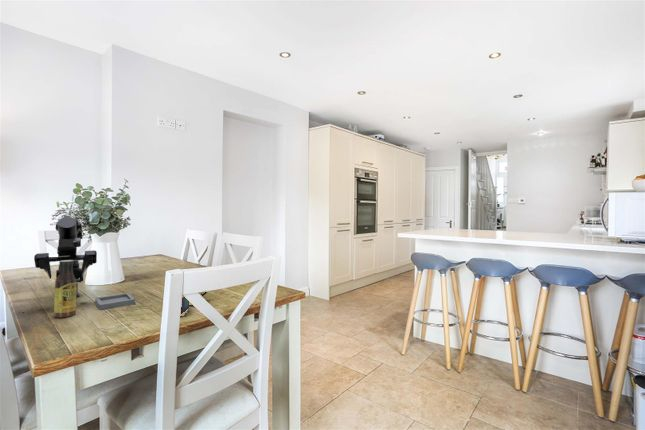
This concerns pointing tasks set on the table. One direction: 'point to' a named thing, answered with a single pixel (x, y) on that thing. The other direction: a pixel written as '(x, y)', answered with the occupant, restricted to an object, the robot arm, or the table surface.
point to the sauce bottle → (65, 290)
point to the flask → (184, 305)
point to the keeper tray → (114, 301)
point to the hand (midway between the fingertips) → (66, 276)
